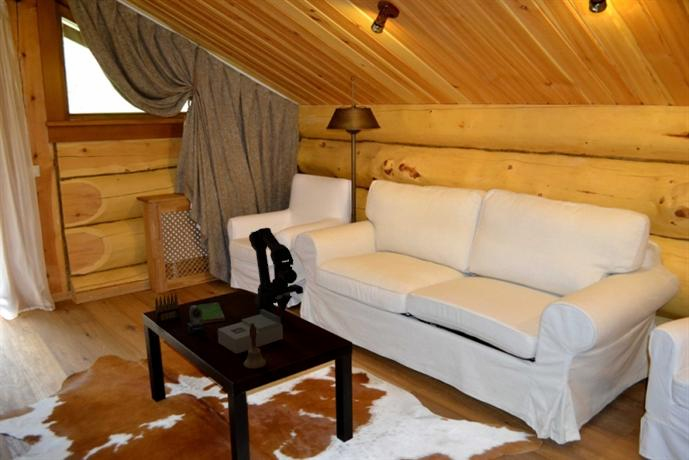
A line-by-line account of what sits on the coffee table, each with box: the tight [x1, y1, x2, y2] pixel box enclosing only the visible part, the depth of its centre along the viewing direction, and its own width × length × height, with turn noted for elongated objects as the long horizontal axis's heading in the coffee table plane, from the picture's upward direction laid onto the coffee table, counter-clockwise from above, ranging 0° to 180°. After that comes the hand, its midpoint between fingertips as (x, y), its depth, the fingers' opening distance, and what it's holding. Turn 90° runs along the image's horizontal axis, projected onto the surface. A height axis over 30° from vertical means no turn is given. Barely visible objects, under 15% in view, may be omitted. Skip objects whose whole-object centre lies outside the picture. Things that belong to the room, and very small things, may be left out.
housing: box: [217, 321, 284, 354], centre depth 235 cm, size 22×14×6 cm, turn 131°
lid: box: [241, 309, 282, 331], centre depth 237 cm, size 10×13×3 cm
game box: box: [197, 302, 226, 325], centre depth 265 cm, size 3×10×20 cm
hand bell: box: [243, 323, 267, 370], centre depth 214 cm, size 8×8×16 cm
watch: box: [186, 305, 205, 334], centre depth 245 cm, size 6×8×11 cm
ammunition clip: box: [154, 293, 181, 325], centre depth 257 cm, size 11×2×12 cm, turn 129°
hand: (282, 312), depth 244 cm, fingers closed
